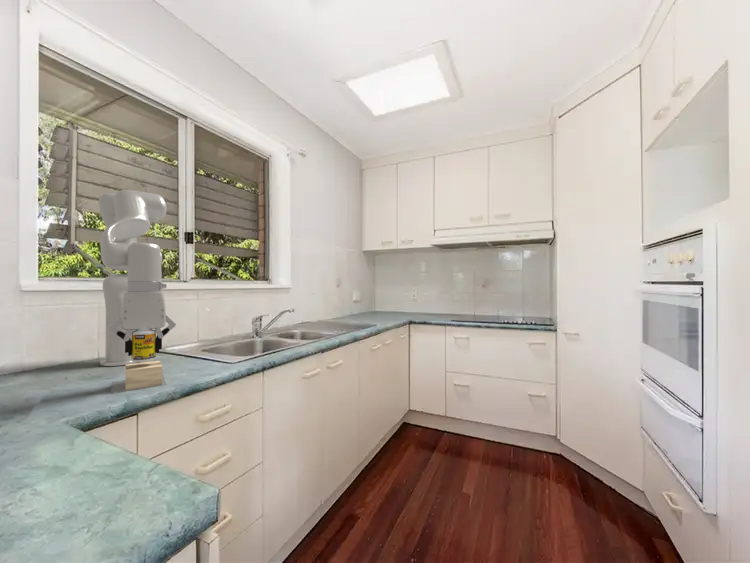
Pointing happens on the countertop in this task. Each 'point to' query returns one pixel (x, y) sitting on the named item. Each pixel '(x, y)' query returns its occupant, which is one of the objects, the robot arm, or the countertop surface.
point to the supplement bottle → (143, 345)
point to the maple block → (143, 374)
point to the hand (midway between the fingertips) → (143, 353)
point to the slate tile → (121, 387)
